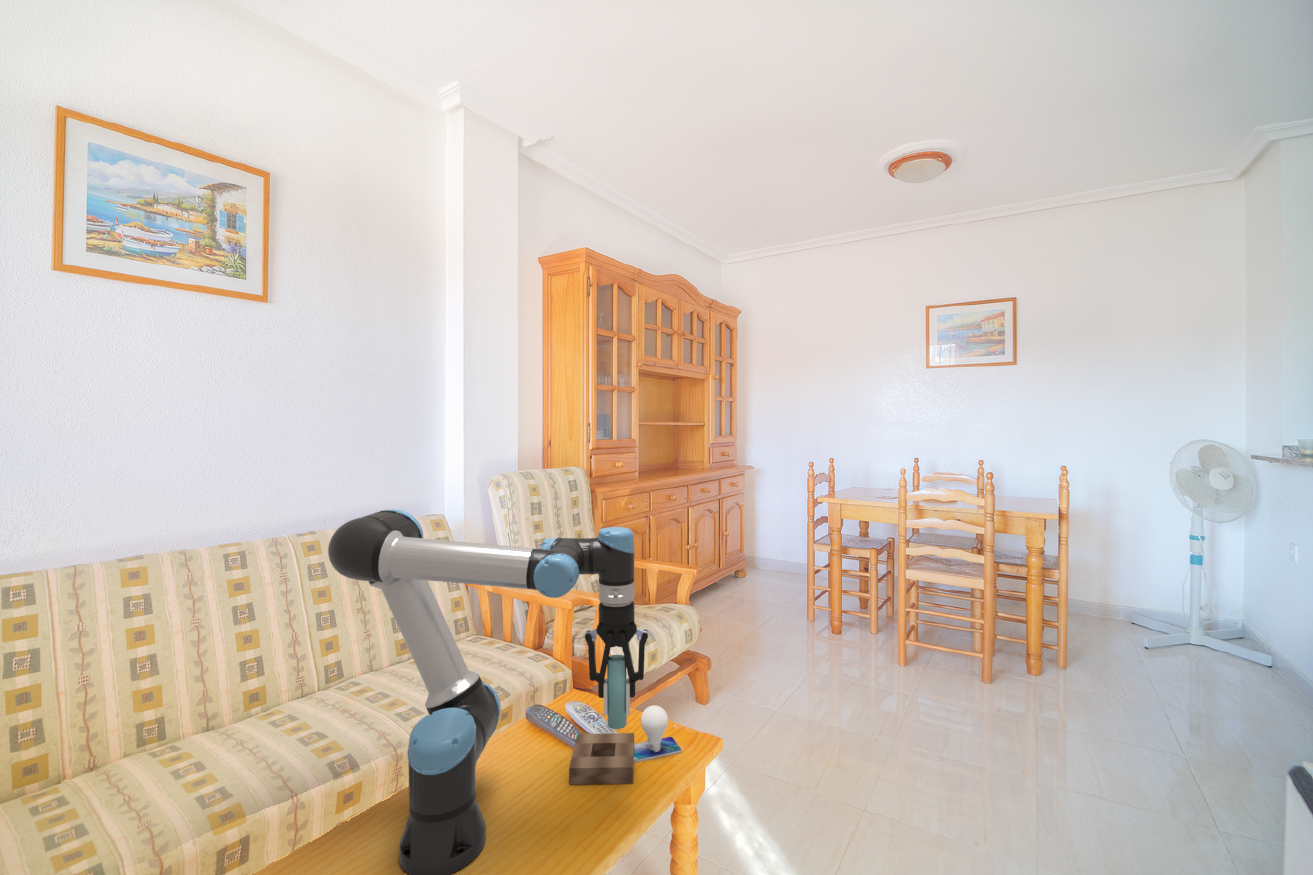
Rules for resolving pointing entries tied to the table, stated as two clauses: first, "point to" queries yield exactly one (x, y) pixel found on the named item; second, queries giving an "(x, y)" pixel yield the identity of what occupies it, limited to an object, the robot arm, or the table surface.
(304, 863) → the table surface
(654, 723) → the light bulb
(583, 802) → the table surface
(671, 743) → the smartphone
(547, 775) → the table surface
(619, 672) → the peg
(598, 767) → the socket block
